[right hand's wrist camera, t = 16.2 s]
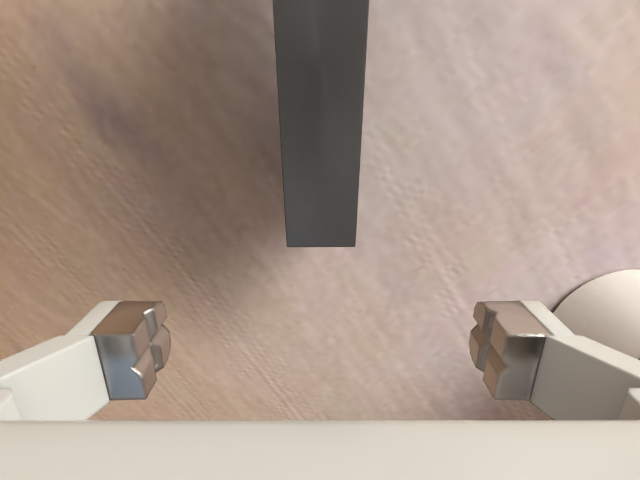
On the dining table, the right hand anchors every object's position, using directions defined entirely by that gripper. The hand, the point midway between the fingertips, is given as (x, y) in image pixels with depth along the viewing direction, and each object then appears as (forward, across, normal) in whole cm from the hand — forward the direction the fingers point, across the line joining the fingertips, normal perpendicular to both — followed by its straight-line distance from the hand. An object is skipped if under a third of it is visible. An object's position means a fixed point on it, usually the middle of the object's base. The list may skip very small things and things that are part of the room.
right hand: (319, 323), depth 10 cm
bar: (+23, 0, +9) cm, 25 cm away
